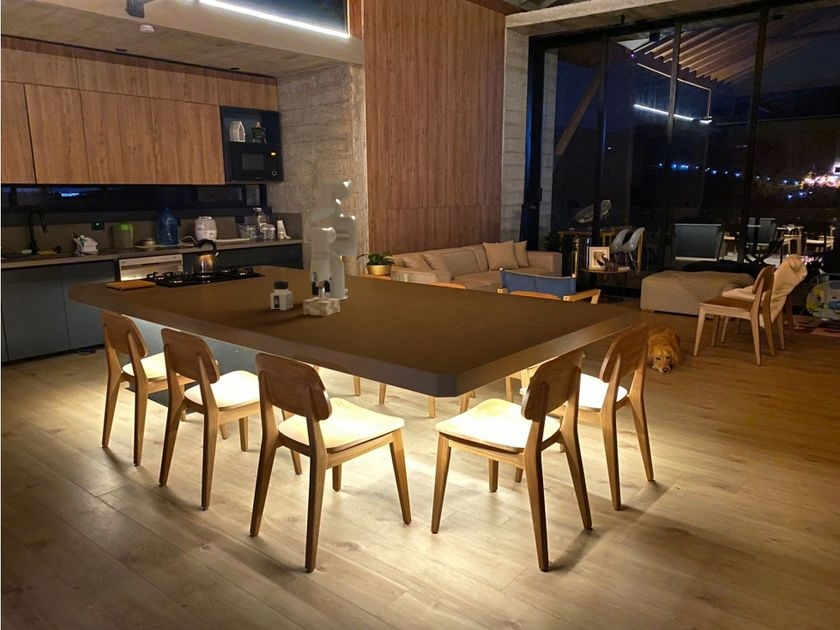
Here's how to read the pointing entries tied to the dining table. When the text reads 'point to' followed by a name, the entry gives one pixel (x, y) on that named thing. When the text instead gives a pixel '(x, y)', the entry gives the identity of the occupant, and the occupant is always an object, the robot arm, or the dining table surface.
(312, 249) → the robot arm
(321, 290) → the peg
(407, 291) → the dining table surface
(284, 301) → the container
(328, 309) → the square wooden hole block
